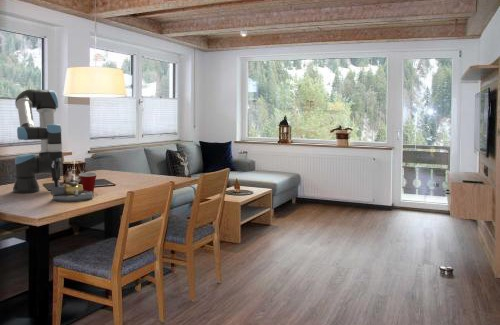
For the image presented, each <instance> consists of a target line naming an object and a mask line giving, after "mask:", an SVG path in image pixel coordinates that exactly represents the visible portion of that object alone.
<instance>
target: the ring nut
mask: <svg viewBox="0 0 500 325" xmlns="http://www.w3.org/2000/svg"><path fill="white" fill-rule="evenodd" d="M75 190H78V194H81V193H83V185H82V183H80V184H79V182H77V181H70V182H68V183H63V184H62V185H59V186H54V185H53V186H50V195H52V196H53V195H59V194H75Z"/></svg>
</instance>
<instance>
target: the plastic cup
mask: <svg viewBox="0 0 500 325" xmlns="http://www.w3.org/2000/svg"><path fill="white" fill-rule="evenodd" d="M78 175H79V177H80V181H81V184H82V185H83V190H88V191H92V192H93V193H94V191H95V185H96V178H97V176H98V173H97V172H91V171H89V172H88V171H87V172H86V171H85V172H81V173H79V174H78Z"/></svg>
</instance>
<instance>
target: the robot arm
mask: <svg viewBox="0 0 500 325" xmlns="http://www.w3.org/2000/svg"><path fill="white" fill-rule="evenodd" d="M14 102H15V103H14V104H15V108H16V109H17V112H18V119H19V126H18V127H16V128H17V129H16V134H17V136H16V137H17V140H19V141H32V140H33V141H34V140H35V141H38V140H39V141H40V151H39V152H38V155H37V154H36V153H24V154H20V155H16V156H15V158H14V166H15V167H14V168H15V181H14V183H13V187H12V192H13V193H15V194H30V193H36V192H39V191H40V190H41V189H40V185H39V182H38V180H37V175H41V174H42V175H43V174H44V175H45V174H48V175H49V174H51V179H52V180H51V181H52V182H53V187H54V186H60V181H61V180H62V179H61V167H62V158H63V143H62V127H61V124H59V123H55V116H54V115H55V114H54V113H55V112H56V111H57V109H58V108H59V100H58V95H57V93H56V91H55V90H53V89H52V90H50V89H32V88H31V89H30V88H29V89H25V90H23V91H21V92H19V94H18V95H17V96H16V98H15V101H14ZM33 109H36V112H38V113H37V114H39V116H38V117H39V126H35V121H34V116H33Z"/></svg>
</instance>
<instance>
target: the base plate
mask: <svg viewBox="0 0 500 325" xmlns="http://www.w3.org/2000/svg"><path fill="white" fill-rule="evenodd" d="M93 198H94V191H93V192H92V191H88V190H83V193H81V194H78V190H75V194H59V195H52V200H53V201H54V202H58V203H75V202H76V203H77V202H85V201H90V200H92V199H93Z"/></svg>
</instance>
